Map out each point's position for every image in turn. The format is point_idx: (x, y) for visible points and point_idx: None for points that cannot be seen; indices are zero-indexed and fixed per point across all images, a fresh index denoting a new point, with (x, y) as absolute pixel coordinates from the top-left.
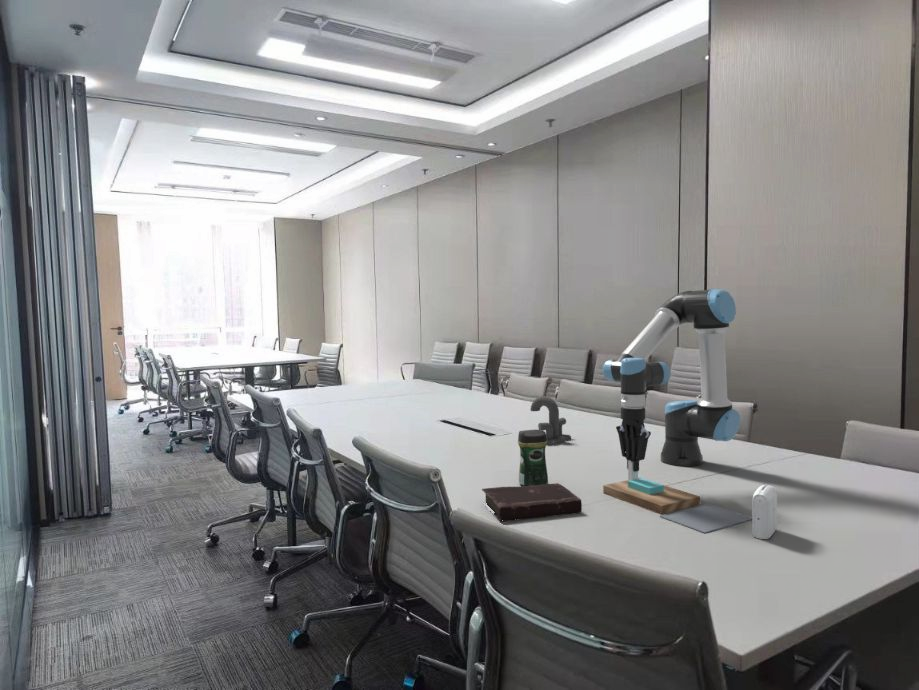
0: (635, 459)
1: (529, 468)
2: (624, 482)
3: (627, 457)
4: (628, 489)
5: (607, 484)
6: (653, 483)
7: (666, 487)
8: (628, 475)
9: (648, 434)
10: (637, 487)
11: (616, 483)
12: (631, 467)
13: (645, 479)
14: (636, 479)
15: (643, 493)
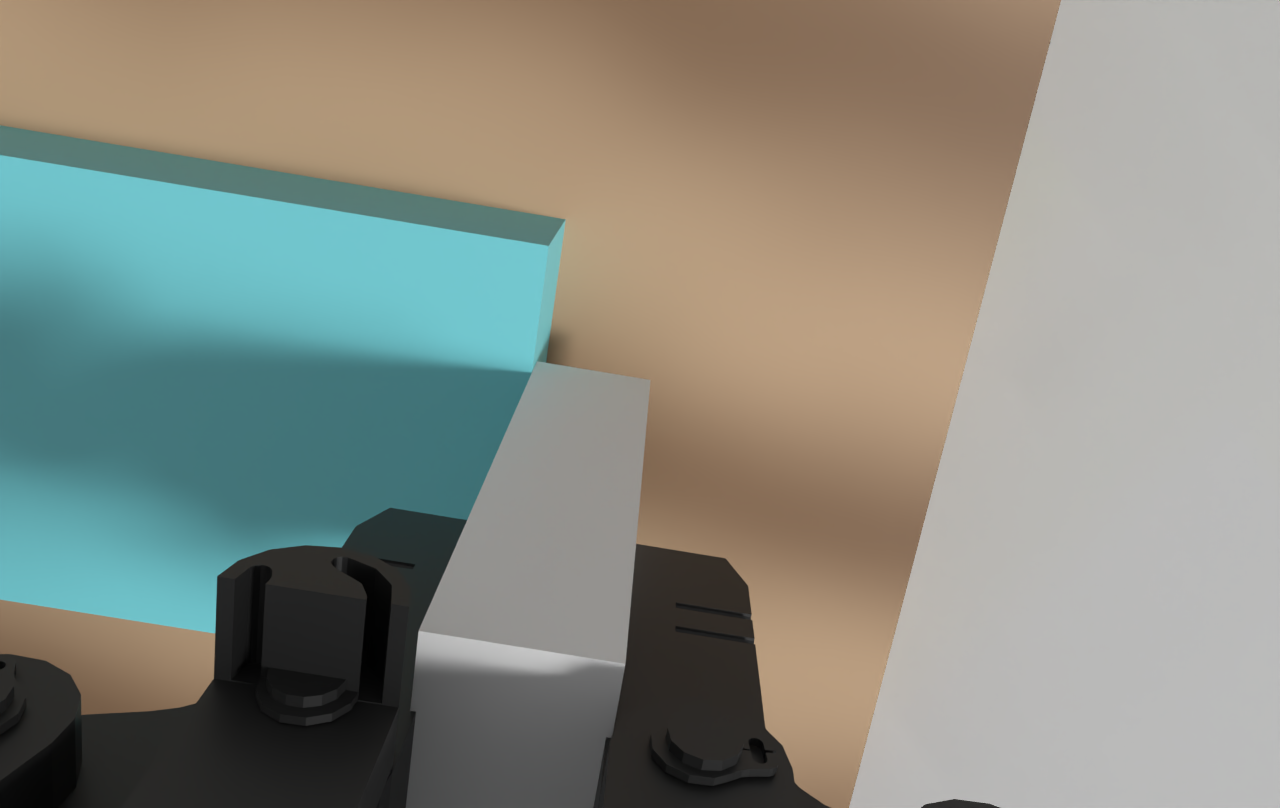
0: (199, 735)
1: None
2: (846, 467)
3: (682, 764)
4: (448, 86)
5: (1047, 45)
6: (44, 520)
7: None
8: (637, 424)
9: None
10: (239, 179)
11: (933, 278)
12: (476, 515)
13: None
14: None
15: (41, 88)
